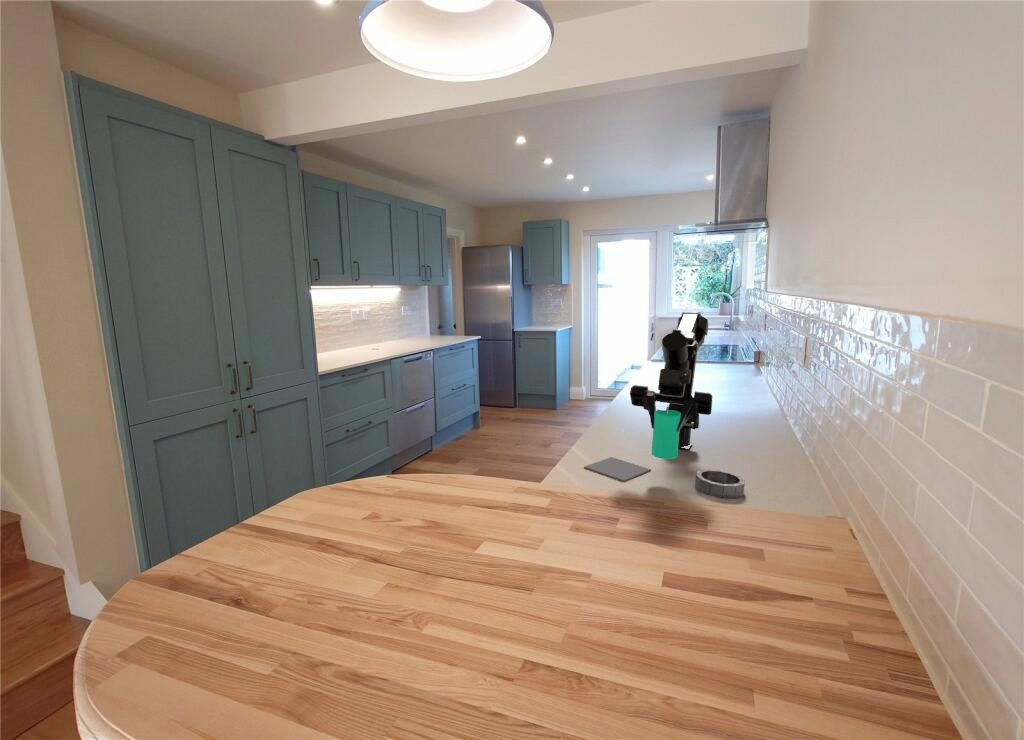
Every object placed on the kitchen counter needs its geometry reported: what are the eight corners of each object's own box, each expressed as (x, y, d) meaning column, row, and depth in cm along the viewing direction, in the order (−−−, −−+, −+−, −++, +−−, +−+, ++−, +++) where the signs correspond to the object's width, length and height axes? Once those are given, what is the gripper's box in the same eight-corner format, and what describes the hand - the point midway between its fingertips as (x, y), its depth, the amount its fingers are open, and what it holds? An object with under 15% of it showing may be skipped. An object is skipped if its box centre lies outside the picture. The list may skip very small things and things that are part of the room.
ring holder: (699, 478, 119) (700, 466, 118) (745, 487, 114) (746, 475, 113) (691, 491, 110) (692, 479, 110) (740, 502, 105) (742, 489, 104)
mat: (611, 458, 131) (611, 457, 131) (650, 470, 123) (650, 469, 123) (584, 468, 123) (584, 466, 123) (624, 482, 115) (624, 480, 114)
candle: (679, 453, 116) (683, 405, 114) (675, 460, 111) (679, 410, 109) (654, 449, 119) (657, 401, 117) (648, 456, 114) (652, 406, 112)
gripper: (634, 352, 119) (620, 405, 110) (715, 359, 111) (708, 416, 103) (638, 379, 127) (626, 430, 119) (714, 387, 119) (707, 442, 111)
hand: (664, 429), depth 113 cm, fingers closed on candle, 5 cm apart
